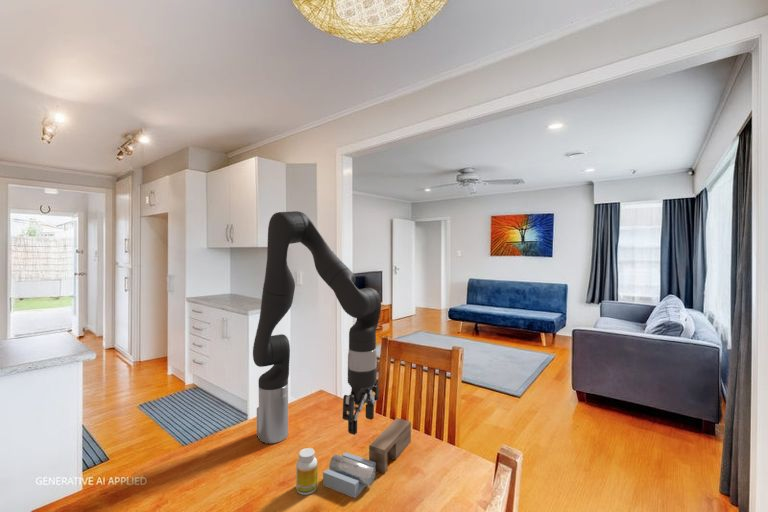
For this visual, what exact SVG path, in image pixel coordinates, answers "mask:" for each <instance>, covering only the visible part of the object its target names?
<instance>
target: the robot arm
mask: <svg viewBox="0 0 768 512" xmlns="http://www.w3.org/2000/svg"><path fill="white" fill-rule="evenodd" d="M268 222H269V223H268V227H267V248H266V249H267V252H266V264H265V265H266V267H265V275H264V281H263V287H262V292H261V293H262V295H261V302H260V304H261V305H260V312H259V319H258V323H257V329H256V332H255V336H254V341H253V346H252V358H253V362H254V364H255V366H257V367H259V368H263V367H269V366H271V368H269V369H268V370H267V371H265V372H264V373H262V374H261V375H260V376H259V378H258V407H257V408H256V437H257V436H259V437H258V439H260V440H259V441H260V442H261V441H262V442H261V443H263V442H265V443H264V444H268V443H269V444H270V445H271V444H276V443H279V442H282V441H284V440H285V439H286V438H287V437H288V436H289V376H290V358H291V357H290V356H291V347H290V340H289V337H288V336H287V335H286V334H281V333H280V334H274V335H272V334H273V332H274V330H275V329H276V327H277V325H278V324H279V323H280V321H282V319H283V318H284V317H285V316H286V314H287V313H289V310H290V309H291V307H292V304H293V301H294V295H295V287H296V282H295V278H294V277H293V274H292V272H291V269H290V268H289V265H288V261H287V260H288V259H287V258H288V250H289V246H290V245H292V244H298V243H300V244H302V245H303V246H304V247H306V249H308V250H309V252H310V253H311V255H312V258H313V263H314V267H315V269H316V272H317V274H318V276H319V277H320V278H321V280H323V282H325V283H326V285H327V286H328V287H329V288H330V289H331V290H332V291H333V293H334V295H335V297H336V299H337V300H338V302H339V304H340V306H341V307H342V309H343V311H344V312H345V313H346V314H347V315H349V316H350V317H352V318H354V319H356V320H355V323H354V324H353V325H352V326H351V327H350V328H349V331H348V354H347V384H348V385H349V386H350V387H351V390H350V394H349V395H348V394H344V395H343V399H342V419H343V421H344V420H345V421H347V425H348V427H347V431H348V434H350V435H354V436H355V435H357V433H358V417H359V413H360V412H362V411H363V406H365V419H367V420H369V421H370V420H373V419H374V417H375V414H374V413H375V405H376V401H379V399H380V398H379V397H380V396H379V393H380V391H379V387H380V386H379V379H377V369H378V368H377V367H378V366H377V364H378V363H377V362H378V361H377V360H378V359H377V358H378V357H377V328H378V325H379V321H380V316H381V311H382V300H381V296H380V294H379V292H378V291H377V290H376V289H375V288H373V287H364V288H358V287H357V286H356V285H355V283H356V275H355V274H354V272H353V271H351V270H350V268H349V267H348V266H347V265H346V264H345V263H344V262H343V261H342V259H340V258H339V256H337V255H336V254H335V252H334V251H333V250H332V249H331V248H330V246H329V245H328V244H327V242H326V241H325V239H324V238H323V236H322V234H321V233H320V232H319V230H318V229H317V227H316V226H315V224H314V223H313V221H311V219H310V218H309V216H308V215H307V214H306V213H304V212H301V211H298V210H297V211H279V212H275V213H273V214H272V216H271V217H270V219H269V221H268ZM355 405H356V406H355ZM354 411H355V412H354ZM269 444H268V445H269Z"/></svg>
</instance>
